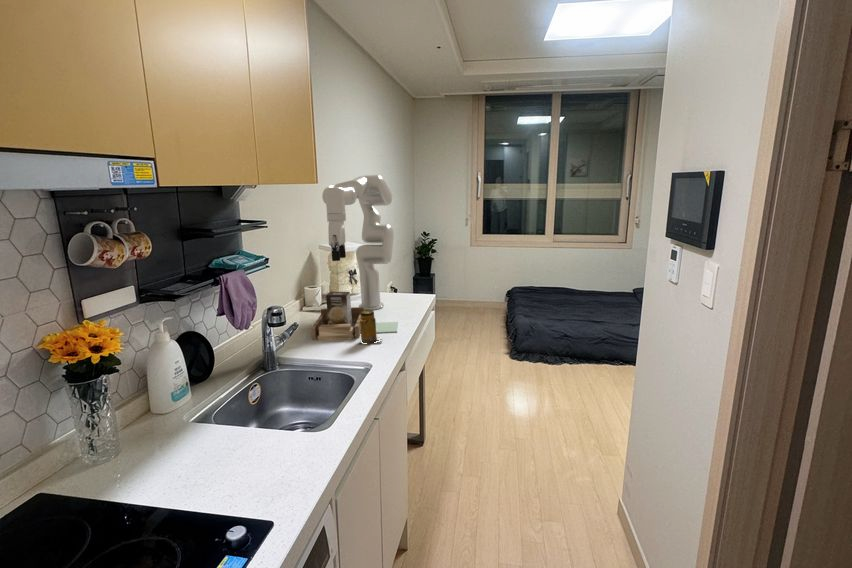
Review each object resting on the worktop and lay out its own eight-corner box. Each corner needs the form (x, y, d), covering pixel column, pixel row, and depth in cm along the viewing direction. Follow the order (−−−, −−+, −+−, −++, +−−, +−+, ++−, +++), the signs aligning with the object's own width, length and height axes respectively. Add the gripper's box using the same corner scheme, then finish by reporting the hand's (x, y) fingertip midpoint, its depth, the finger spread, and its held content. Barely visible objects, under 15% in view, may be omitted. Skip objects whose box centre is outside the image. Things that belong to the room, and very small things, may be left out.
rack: (322, 323, 198) (321, 308, 196) (365, 321, 198) (363, 307, 197) (311, 340, 177) (310, 323, 175) (359, 338, 177) (358, 321, 176)
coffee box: (327, 331, 187) (324, 295, 183) (332, 327, 193) (329, 291, 189) (349, 331, 186) (346, 294, 182) (353, 326, 192) (350, 291, 188)
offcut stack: (320, 337, 181) (319, 324, 180) (354, 335, 181) (353, 323, 180) (318, 340, 177) (317, 328, 176) (353, 339, 177) (352, 326, 176)
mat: (368, 324, 195) (368, 323, 195) (398, 322, 195) (397, 321, 195) (365, 333, 182) (365, 332, 182) (396, 332, 182) (396, 331, 182)
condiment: (362, 338, 177) (359, 309, 174) (383, 337, 177) (381, 309, 174) (359, 344, 170) (357, 315, 167) (381, 344, 170) (379, 314, 167)
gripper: (332, 217, 189) (335, 256, 192) (321, 219, 172) (324, 262, 175) (350, 216, 189) (352, 256, 192) (340, 218, 172) (343, 261, 175)
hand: (339, 259), depth 184 cm, fingers open, 9 cm apart
